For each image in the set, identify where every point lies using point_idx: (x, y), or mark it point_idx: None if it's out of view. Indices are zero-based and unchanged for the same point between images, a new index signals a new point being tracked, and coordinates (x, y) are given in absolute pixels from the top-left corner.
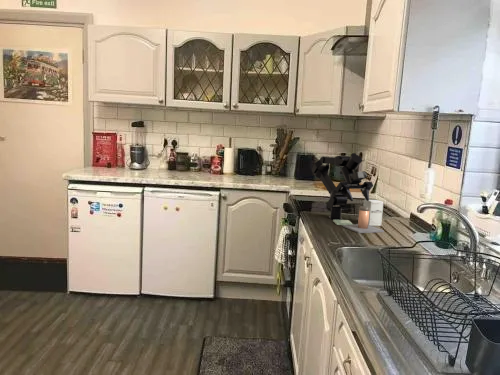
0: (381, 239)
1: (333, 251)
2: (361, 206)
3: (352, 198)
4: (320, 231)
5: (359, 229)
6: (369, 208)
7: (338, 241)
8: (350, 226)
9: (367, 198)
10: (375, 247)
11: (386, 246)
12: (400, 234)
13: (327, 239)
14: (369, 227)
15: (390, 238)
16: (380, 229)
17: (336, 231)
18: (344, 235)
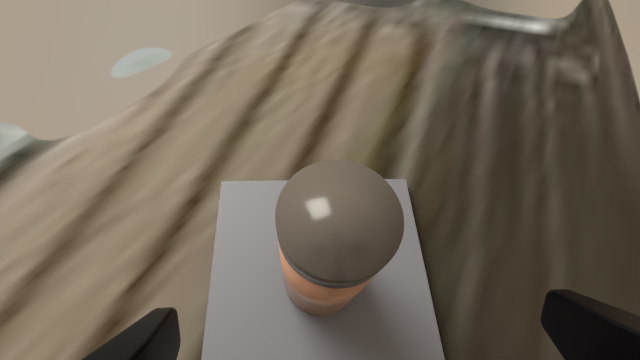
0: (344, 75)
1: (584, 6)
2: (349, 279)
3: (585, 302)
4: (634, 252)
5: None
6: (294, 178)
7: (551, 80)
8: (405, 322)
9: (157, 352)
10: (429, 10)
11: (382, 11)
12: (165, 128)
13: (597, 110)
14: (265, 270)
15: (288, 80)
16: (226, 204)
17: (530, 239)
18: (502, 154)
